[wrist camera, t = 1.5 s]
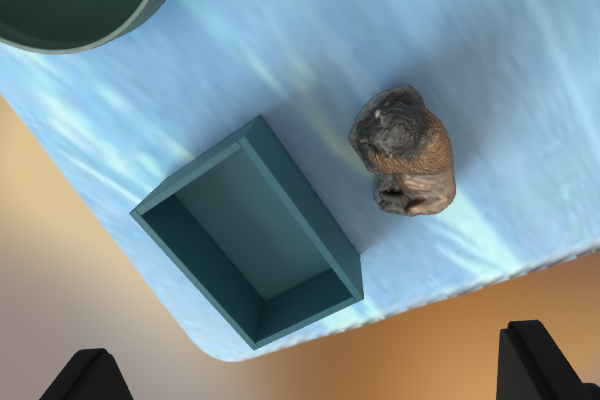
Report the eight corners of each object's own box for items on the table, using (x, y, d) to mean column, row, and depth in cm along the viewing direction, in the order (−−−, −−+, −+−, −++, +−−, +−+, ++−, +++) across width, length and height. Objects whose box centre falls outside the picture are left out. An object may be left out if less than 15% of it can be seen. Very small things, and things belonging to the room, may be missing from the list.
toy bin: (260, 114, 34) (244, 135, 28) (360, 255, 40) (364, 299, 33) (162, 181, 38) (128, 213, 32) (265, 303, 43) (253, 351, 37)
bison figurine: (460, 186, 36) (503, 243, 26) (388, 218, 38) (404, 282, 28) (406, 64, 32) (434, 82, 23) (328, 106, 34) (326, 139, 25)
